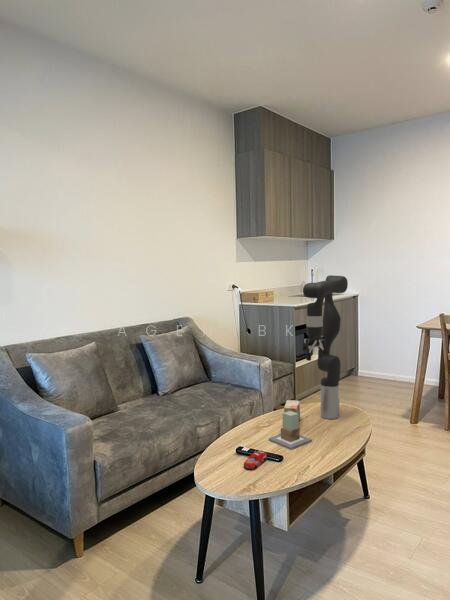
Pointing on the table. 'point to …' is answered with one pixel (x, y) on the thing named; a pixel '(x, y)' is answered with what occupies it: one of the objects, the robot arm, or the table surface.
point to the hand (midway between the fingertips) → (314, 359)
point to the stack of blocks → (293, 407)
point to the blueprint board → (273, 439)
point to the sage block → (290, 420)
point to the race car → (255, 460)
